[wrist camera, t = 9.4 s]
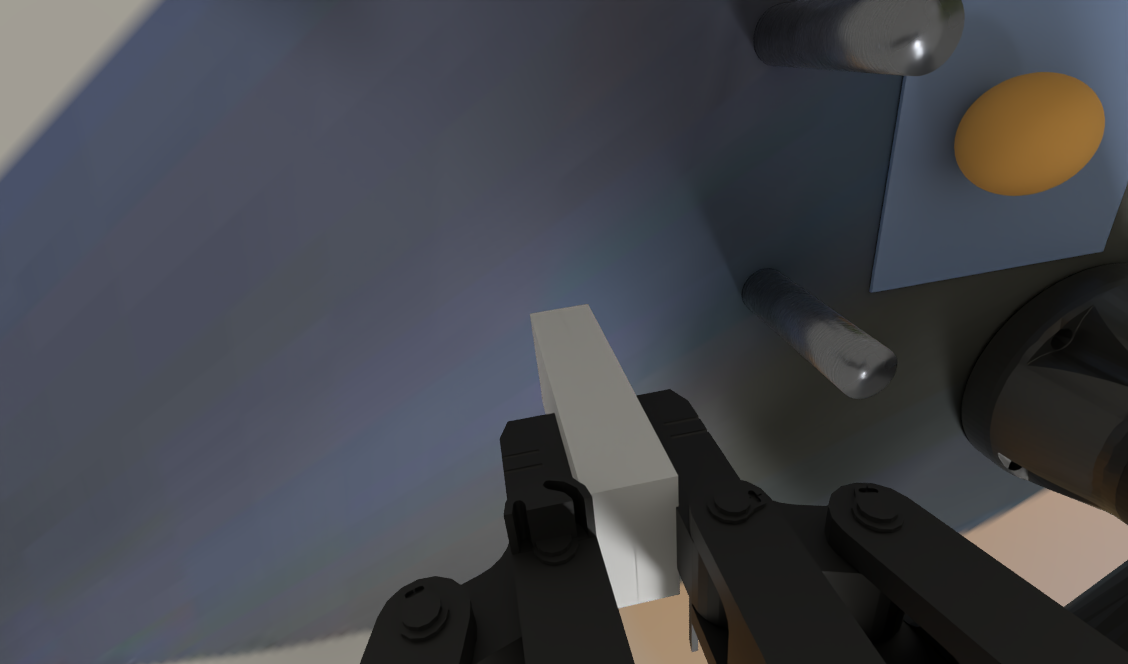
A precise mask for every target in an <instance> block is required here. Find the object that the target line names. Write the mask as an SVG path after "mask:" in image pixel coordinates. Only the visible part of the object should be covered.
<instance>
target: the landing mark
mask: <svg viewBox="0 0 1128 664" xmlns="http://www.w3.org/2000/svg"><path fill="white" fill-rule="evenodd" d="M962 3H963V6H964V13H965V22H964V28H963V32H962V36H961V38H960V41H959V43H958V45H957V47H956V49H955V50H954V52H953V53H952V55H951V56H950V57H949V59H948V60H947V61H946V62H945V63H944V64H943V65H941V66H940V67H939V68H938V69H936V70H935V71H933V72H931V73H929V74H926V75H922V76H904V77H903V83H902V90H901V96H900V102H899V108H898V115H897V121H896V127H895V134H894V140H893V146H892V152H891V159H890V165H889V171H888V178H887V184H886V190H885V196H884V203H883V209H882V215H881V221H880V228H879V234H878V240H877V247H876V253H875V259H874V265H873V272H872V278H871V284H870V290H869V292H871V293H873V292H879V291H884V290H890V289H896V288H901V287H907V286H912V285H918V284H924V283H929V282H935V281H940V280H946V279H952V278H957V277H963V276H969V275H974V274H980V273H985V272H991V271H997V270H1002V269H1008V268H1013V267H1019V266H1025V265H1030V264H1036V263H1041V262H1047V261H1053V260H1058V259H1064V258H1070V257H1075V256H1081V255H1086V254H1092V253H1098V252H1103V250H1104V248H1105V245H1106V242H1107V239H1108V236H1109V234H1110V231H1111V228H1112V225H1113V222H1114V219H1115V217H1116V214H1117V211H1118V208H1119V205H1120V203H1121V200H1122V197H1123V194H1124V191H1125V188H1126V186H1127V183H1128V0H962ZM1035 72H1055V73H1061V74H1065V75H1068V76H1071V77H1074V78H1077V79H1078V80H1080V81H1082V82H1084V83H1085V84H1086V85H1088V86H1089V87H1090V88H1091V89H1092V90H1093V91H1094V92H1095V93H1096V95H1097V96H1098V98H1099V100H1100V101H1101V103H1102V106H1103V109H1104V115H1105V129H1104V134H1103V137H1102V140H1101V143H1100V145H1099V147H1098V149H1097V151H1096V152H1095V154H1094V155H1093V157H1092V158H1091V159H1090V161H1089V162H1088V163H1087V164H1086V165H1085V166H1084V167H1083V168H1082V169H1081V170H1080V171H1079V172H1078V173H1077V174H1075V175H1074V176H1073V177H1071V178H1070V179H1068V180H1067V181H1065V182H1063V183H1062V184H1060V185H1058V186H1055V187H1053V188H1051V189H1048V190H1045V191H1043V192H1039V193H1035V194H1030V195H1022V196H1006V195H999V194H994V193H991V192H988V191H985V190H983V189H981V188H979V187H977V186H976V185H974V184H973V183H972V182H971V181H969V180H968V179H967V178H966V177H965V176H964V174H963V173H962V171H961V170H960V168H959V166H958V164H957V161H956V157H955V150H954V142H955V135H956V131H957V128H958V126H959V123H960V121H961V119H962V118H963V116H964V114H965V113H966V111H967V110H968V109H969V107H970V106H971V105H972V104H973V103H974V102H975V101H976V100H977V99H978V98H979V97H980V96H981V95H983V94H984V93H985V92H986V91H988V90H989V89H991V88H992V87H994V86H996V85H998V84H999V83H1001V82H1003V81H1006V80H1008V79H1010V78H1013V77H1016V76H1019V75H1024V74H1029V73H1035Z"/></svg>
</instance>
